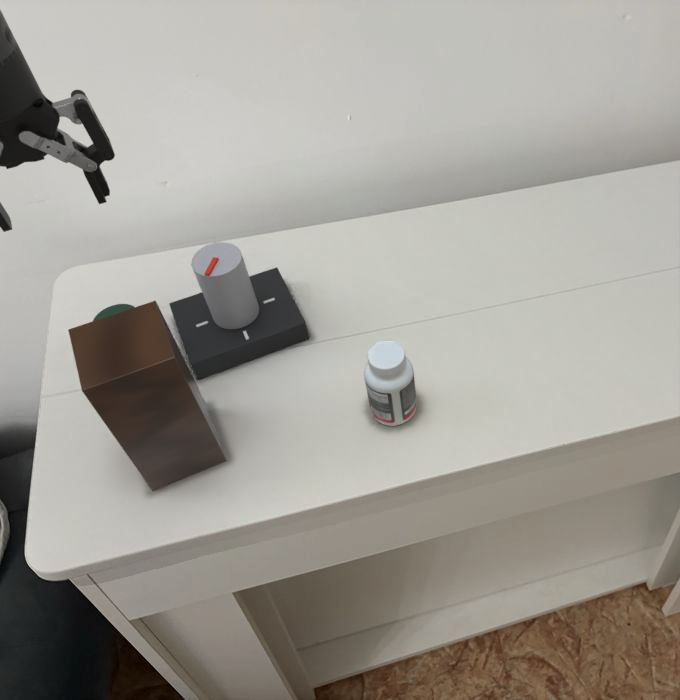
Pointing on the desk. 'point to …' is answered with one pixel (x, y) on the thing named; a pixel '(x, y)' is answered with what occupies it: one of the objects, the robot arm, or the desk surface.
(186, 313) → the dark grey panel
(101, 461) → the desk surface
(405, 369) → the pill bottle
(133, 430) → the stand
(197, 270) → the grey round cylinder
